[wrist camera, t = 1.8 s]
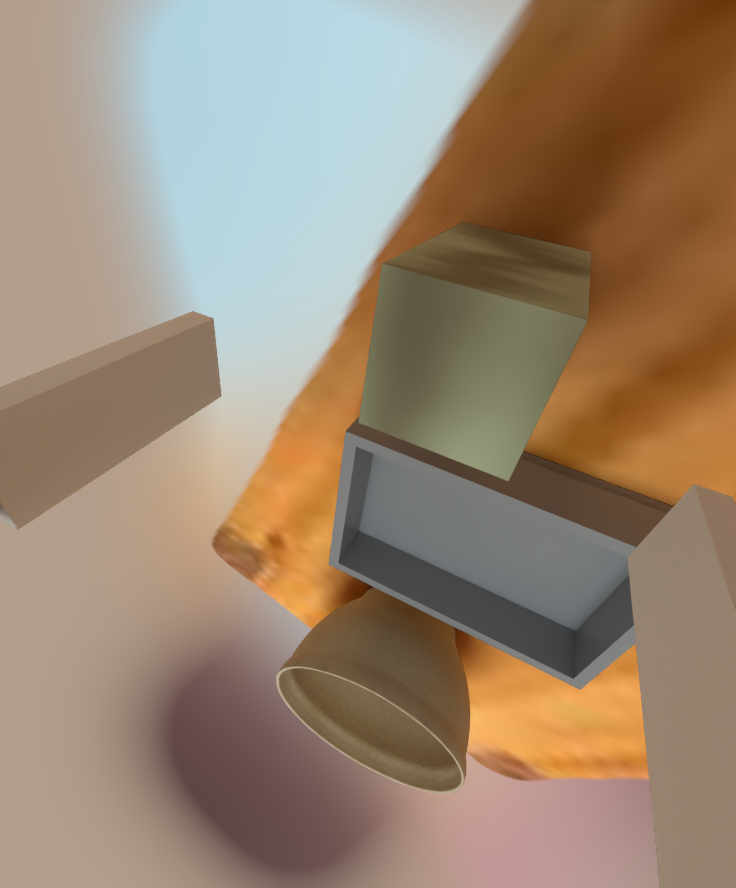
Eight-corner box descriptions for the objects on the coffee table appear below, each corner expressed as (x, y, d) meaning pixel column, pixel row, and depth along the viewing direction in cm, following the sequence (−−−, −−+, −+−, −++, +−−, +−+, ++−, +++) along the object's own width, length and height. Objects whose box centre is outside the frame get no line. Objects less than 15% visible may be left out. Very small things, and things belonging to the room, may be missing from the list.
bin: (696, 515, 22) (713, 578, 19) (581, 631, 31) (580, 689, 28) (376, 397, 27) (345, 431, 24) (353, 526, 36) (328, 564, 32)
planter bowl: (319, 603, 46) (261, 698, 38) (367, 529, 35) (299, 639, 27) (441, 686, 44) (407, 803, 36) (530, 635, 34) (510, 786, 26)
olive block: (591, 252, 18) (588, 320, 11) (538, 370, 22) (508, 480, 14) (463, 222, 20) (382, 263, 12) (433, 337, 23) (358, 422, 16)
